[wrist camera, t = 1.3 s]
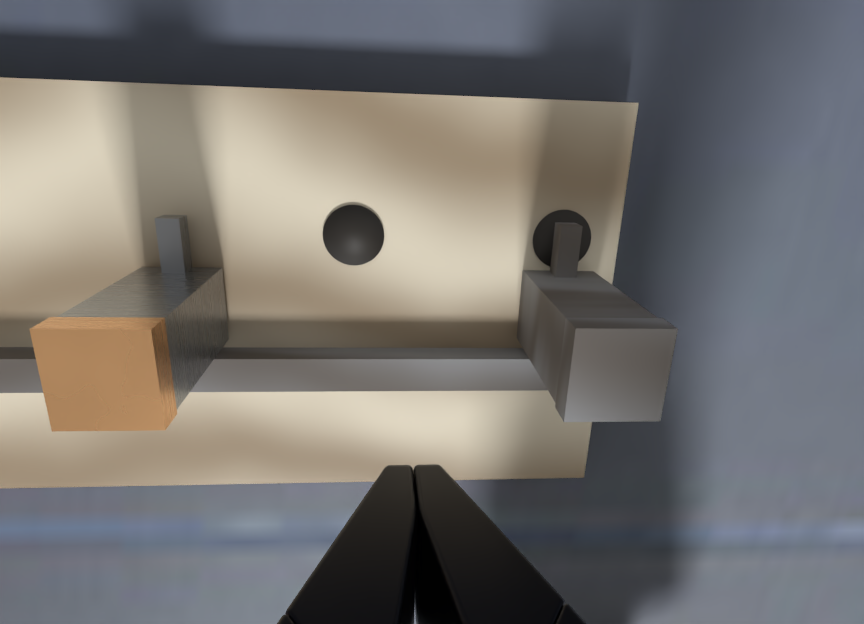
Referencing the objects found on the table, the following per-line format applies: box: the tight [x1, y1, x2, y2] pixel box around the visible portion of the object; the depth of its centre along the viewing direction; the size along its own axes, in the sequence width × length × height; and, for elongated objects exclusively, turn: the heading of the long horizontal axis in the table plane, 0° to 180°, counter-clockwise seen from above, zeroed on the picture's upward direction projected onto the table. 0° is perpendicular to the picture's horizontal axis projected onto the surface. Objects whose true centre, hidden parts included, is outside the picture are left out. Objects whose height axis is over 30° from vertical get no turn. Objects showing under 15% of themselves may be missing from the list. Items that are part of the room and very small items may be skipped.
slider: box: [29, 215, 229, 432], centre depth 15 cm, size 4×3×6 cm, turn 178°
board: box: [0, 77, 678, 488], centre depth 16 cm, size 14×25×7 cm, turn 88°
